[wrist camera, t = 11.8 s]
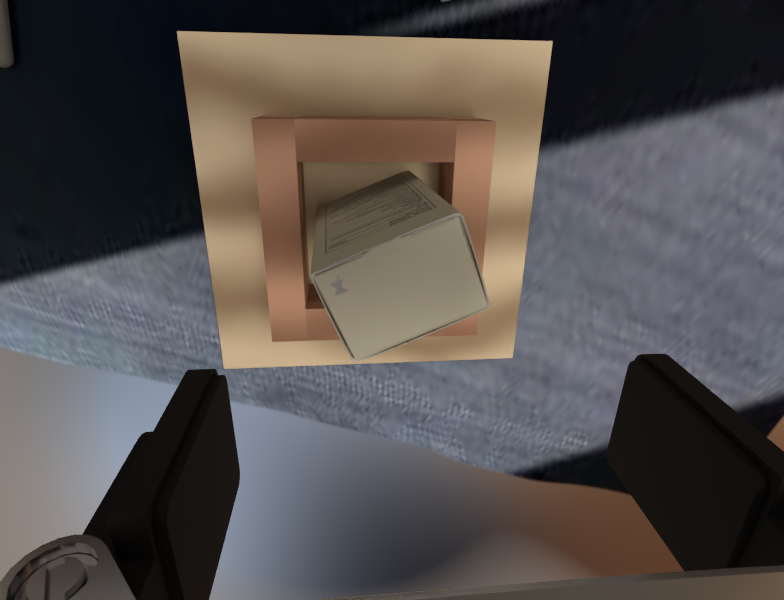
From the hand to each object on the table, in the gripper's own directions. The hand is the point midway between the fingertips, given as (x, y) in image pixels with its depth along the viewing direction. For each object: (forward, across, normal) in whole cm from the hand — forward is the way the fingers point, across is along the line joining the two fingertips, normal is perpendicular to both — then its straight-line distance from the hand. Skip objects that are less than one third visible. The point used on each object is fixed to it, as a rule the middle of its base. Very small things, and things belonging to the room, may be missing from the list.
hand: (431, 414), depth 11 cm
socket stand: (+21, 0, +1) cm, 21 cm away
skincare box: (+20, 0, +1) cm, 20 cm away
